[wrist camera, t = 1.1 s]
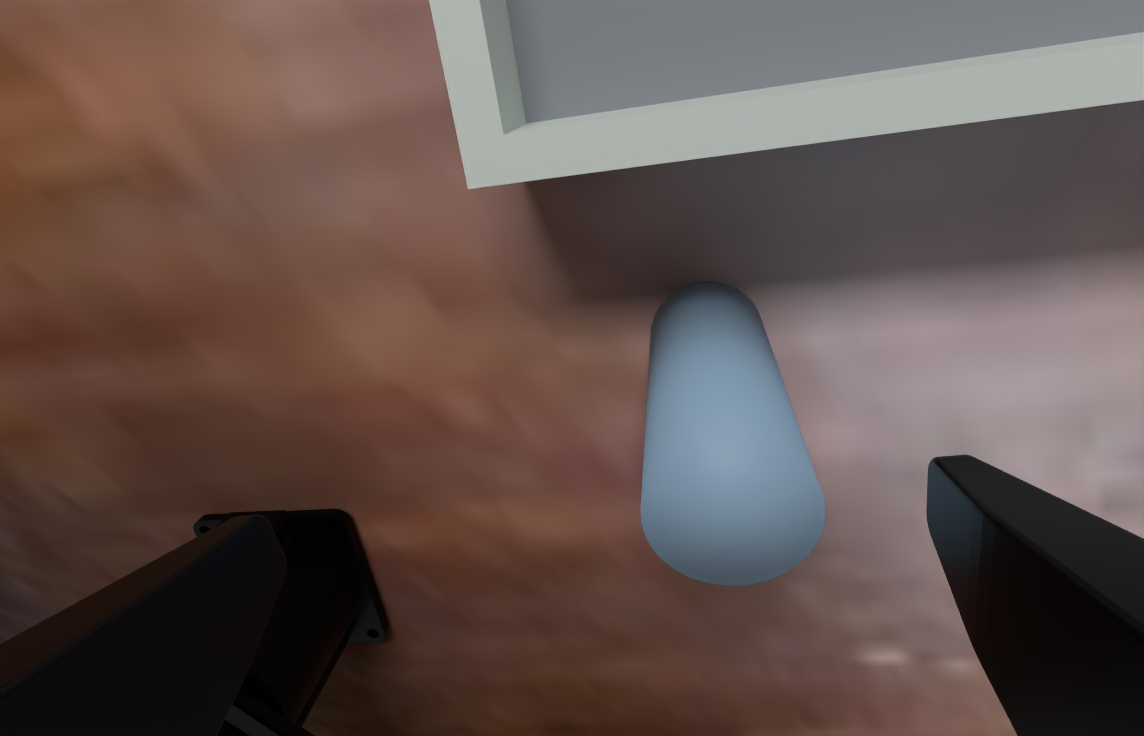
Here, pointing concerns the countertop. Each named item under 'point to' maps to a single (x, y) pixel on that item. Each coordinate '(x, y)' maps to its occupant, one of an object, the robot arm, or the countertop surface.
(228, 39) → the countertop surface
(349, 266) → the countertop surface
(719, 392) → the peg
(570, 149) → the box
